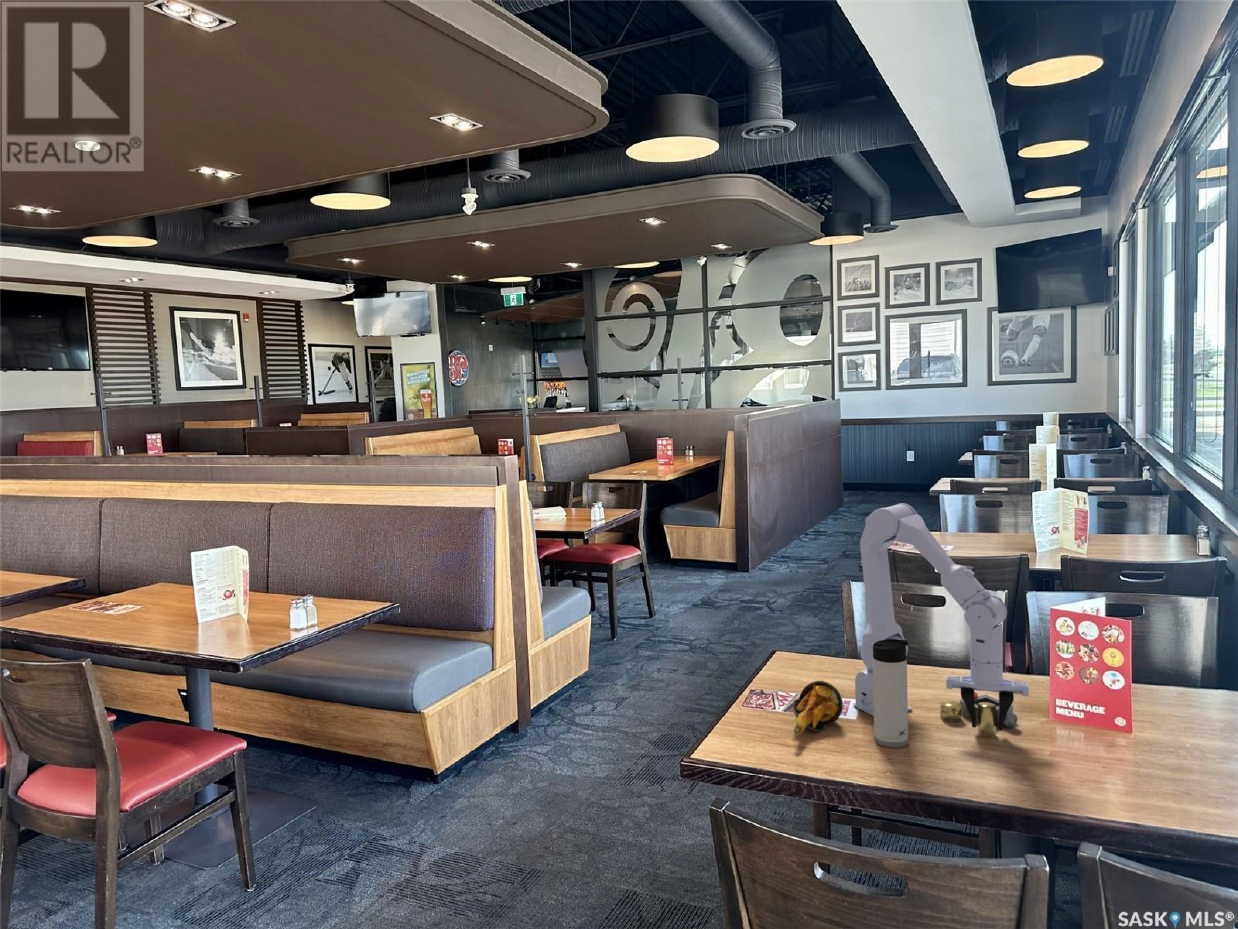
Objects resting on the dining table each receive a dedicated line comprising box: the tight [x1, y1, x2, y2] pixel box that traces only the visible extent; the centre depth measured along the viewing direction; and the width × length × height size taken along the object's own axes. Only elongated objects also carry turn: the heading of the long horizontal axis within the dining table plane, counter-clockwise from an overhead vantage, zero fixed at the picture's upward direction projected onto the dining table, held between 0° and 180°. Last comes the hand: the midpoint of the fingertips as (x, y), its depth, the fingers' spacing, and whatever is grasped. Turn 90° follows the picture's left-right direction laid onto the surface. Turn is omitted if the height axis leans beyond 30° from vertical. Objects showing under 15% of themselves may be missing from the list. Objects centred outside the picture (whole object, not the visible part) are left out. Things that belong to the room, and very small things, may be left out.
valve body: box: [959, 691, 1018, 729], centre depth 166 cm, size 7×13×4 cm, turn 21°
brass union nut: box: [939, 700, 962, 723], centre depth 167 cm, size 4×4×3 cm
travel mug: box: [873, 639, 909, 749], centre depth 156 cm, size 6×7×20 cm
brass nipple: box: [977, 702, 997, 739], centre depth 158 cm, size 3×3×6 cm
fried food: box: [792, 680, 844, 736], centre depth 164 cm, size 9×11×18 cm
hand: (987, 727), depth 158 cm, fingers open, 4 cm apart
